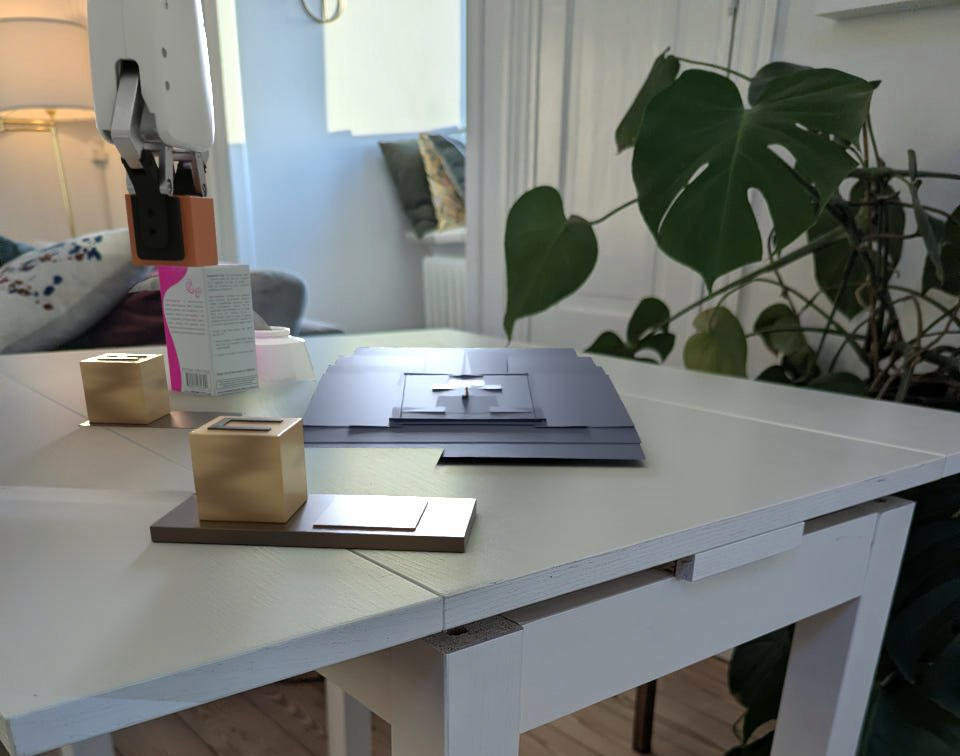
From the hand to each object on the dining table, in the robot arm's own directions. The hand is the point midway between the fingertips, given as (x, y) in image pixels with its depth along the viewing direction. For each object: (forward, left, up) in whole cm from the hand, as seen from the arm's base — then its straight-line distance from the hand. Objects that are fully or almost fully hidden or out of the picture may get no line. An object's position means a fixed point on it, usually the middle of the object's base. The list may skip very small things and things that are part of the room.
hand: (175, 256), depth 67 cm
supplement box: (-4, +15, -13) cm, 20 cm away
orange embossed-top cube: (0, 0, -1) cm, 1 cm away
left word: (-3, 0, -13) cm, 13 cm away
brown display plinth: (+15, -23, -13) cm, 30 cm away
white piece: (-6, +24, -13) cm, 28 cm away
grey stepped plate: (+20, +6, -13) cm, 25 cm away
